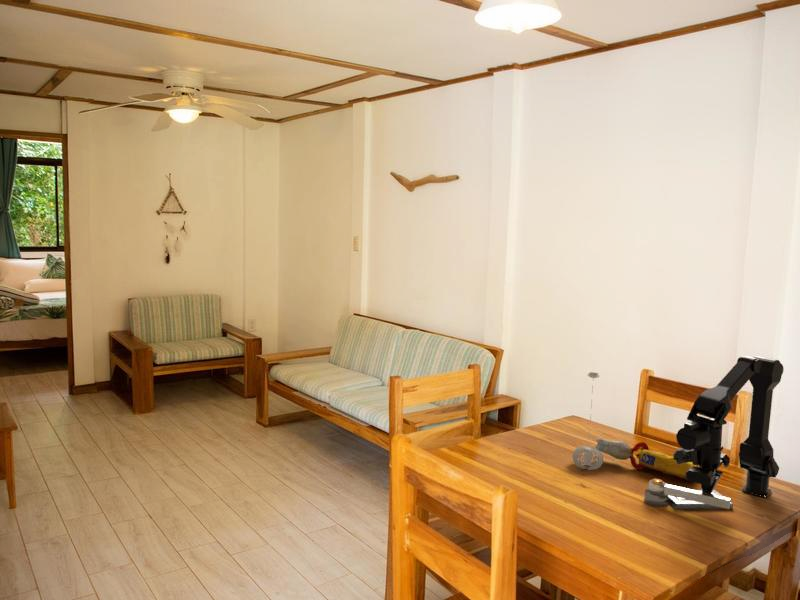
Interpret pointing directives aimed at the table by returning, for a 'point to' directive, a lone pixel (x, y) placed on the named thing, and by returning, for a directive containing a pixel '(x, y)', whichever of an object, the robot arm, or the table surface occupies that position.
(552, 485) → the table surface
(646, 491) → the pivot base
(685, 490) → the swing arm
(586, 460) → the pendant light
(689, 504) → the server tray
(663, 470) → the toy
